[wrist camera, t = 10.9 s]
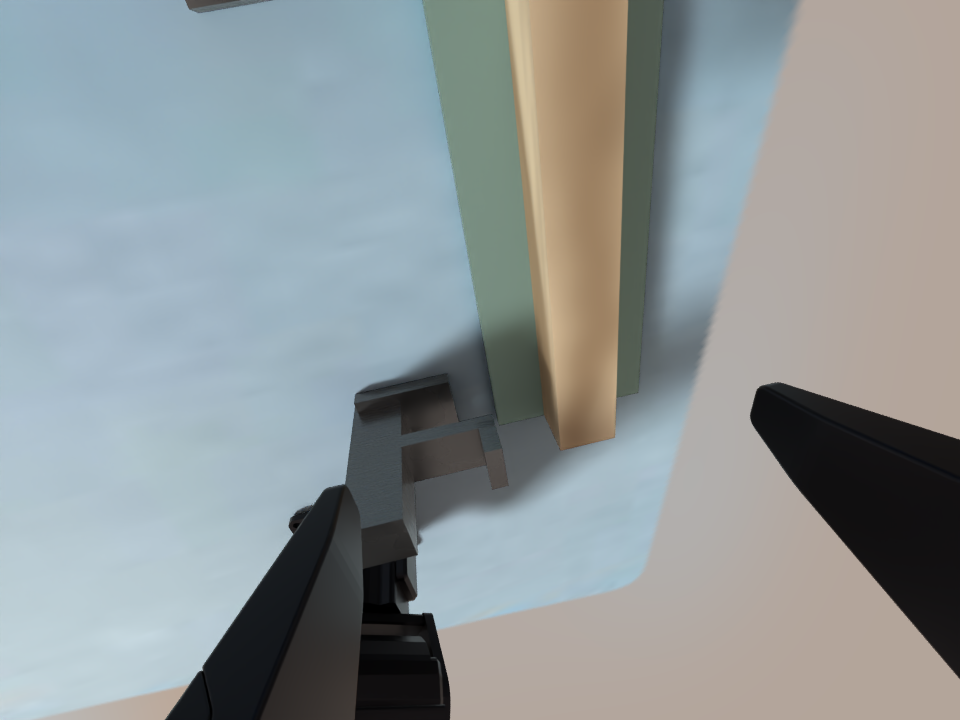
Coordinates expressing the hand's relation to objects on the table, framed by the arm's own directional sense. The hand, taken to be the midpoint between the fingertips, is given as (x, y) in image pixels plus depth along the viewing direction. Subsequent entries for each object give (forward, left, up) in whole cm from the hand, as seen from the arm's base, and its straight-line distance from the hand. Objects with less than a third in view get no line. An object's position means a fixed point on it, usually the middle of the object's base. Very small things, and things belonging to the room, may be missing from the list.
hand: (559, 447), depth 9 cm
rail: (+4, +2, -12) cm, 13 cm away
